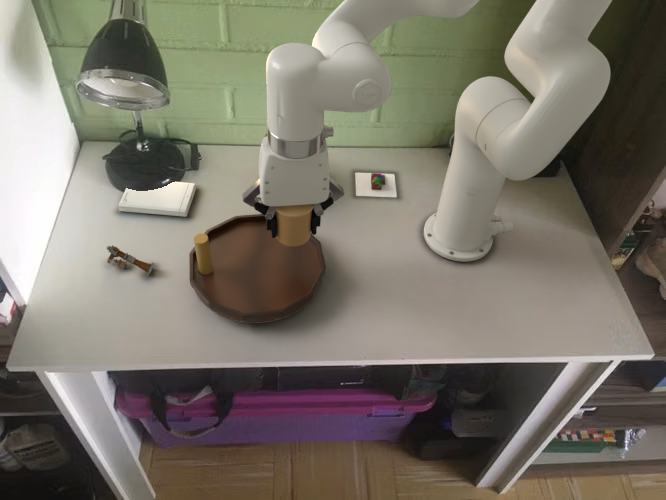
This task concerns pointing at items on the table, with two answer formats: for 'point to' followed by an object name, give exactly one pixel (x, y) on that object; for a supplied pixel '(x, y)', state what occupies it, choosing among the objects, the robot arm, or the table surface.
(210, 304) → the tray
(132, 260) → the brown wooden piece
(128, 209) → the hard drive
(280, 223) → the tan cylinder
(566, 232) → the table surface
